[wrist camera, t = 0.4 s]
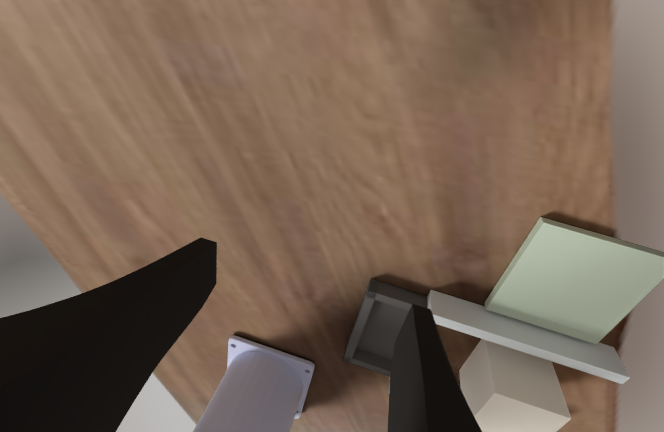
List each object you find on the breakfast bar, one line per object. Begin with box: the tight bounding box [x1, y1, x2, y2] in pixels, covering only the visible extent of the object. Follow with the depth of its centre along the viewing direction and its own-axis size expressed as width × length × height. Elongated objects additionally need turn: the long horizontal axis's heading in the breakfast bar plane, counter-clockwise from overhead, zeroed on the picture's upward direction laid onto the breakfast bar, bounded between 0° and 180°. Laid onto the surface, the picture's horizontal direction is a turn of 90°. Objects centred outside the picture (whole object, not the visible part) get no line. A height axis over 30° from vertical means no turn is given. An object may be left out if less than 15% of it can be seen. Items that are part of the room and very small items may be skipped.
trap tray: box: [343, 279, 427, 376], centre depth 26 cm, size 8×4×1 cm, turn 169°
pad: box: [485, 217, 664, 344], centre depth 20 cm, size 7×7×1 cm
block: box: [459, 339, 571, 432], centre depth 23 cm, size 4×4×4 cm
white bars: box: [388, 290, 630, 394], centre depth 24 cm, size 9×12×2 cm
